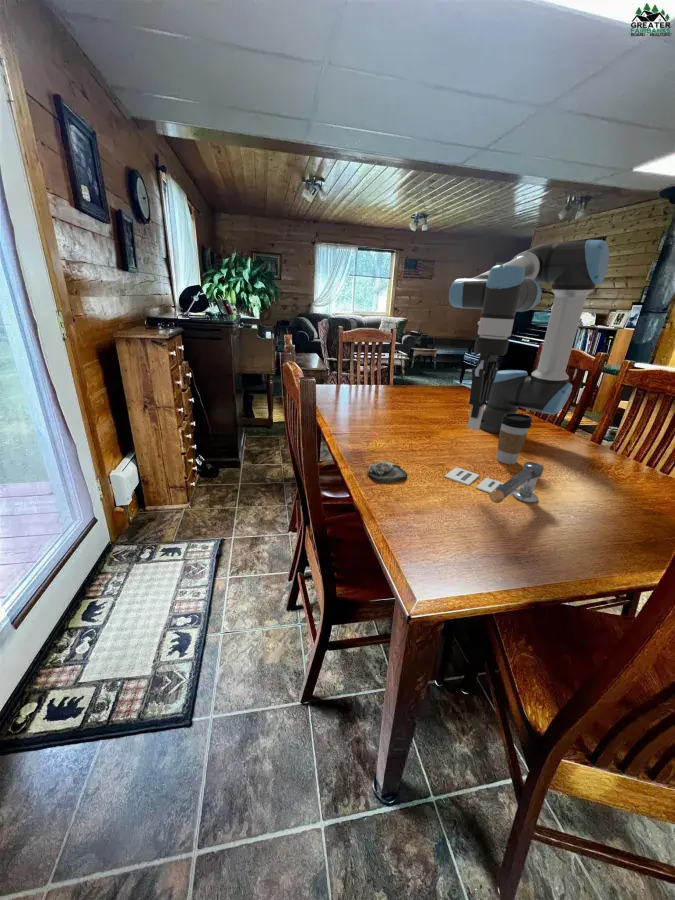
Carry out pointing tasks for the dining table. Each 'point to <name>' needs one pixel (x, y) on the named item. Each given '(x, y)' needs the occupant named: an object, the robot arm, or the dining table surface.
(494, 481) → the label
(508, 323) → the robot arm
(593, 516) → the dining table surface
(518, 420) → the coffee cup
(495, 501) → the swing arm
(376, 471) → the dark grey lumpy mound
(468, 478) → the label
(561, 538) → the dining table surface
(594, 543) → the dining table surface
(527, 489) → the post
